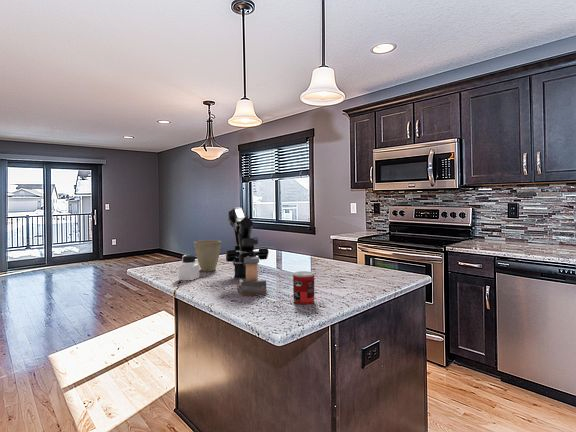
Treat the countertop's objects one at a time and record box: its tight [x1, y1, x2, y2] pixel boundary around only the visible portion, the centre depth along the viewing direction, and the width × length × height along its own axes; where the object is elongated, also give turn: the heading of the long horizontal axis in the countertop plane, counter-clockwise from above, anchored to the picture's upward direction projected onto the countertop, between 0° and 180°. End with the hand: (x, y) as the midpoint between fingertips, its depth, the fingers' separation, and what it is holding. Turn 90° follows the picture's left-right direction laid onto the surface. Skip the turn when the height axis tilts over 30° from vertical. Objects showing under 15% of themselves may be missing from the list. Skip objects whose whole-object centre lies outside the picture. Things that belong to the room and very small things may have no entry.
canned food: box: [292, 270, 315, 305], centre depth 136 cm, size 8×8×11 cm
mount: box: [237, 278, 267, 297], centre depth 153 cm, size 14×10×6 cm
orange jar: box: [244, 256, 260, 281], centre depth 151 cm, size 6×6×13 cm
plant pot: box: [193, 239, 222, 272], centre depth 199 cm, size 15×15×16 cm
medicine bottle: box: [178, 254, 200, 281], centre depth 177 cm, size 7×7×12 cm
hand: (249, 270), depth 156 cm, fingers closed
